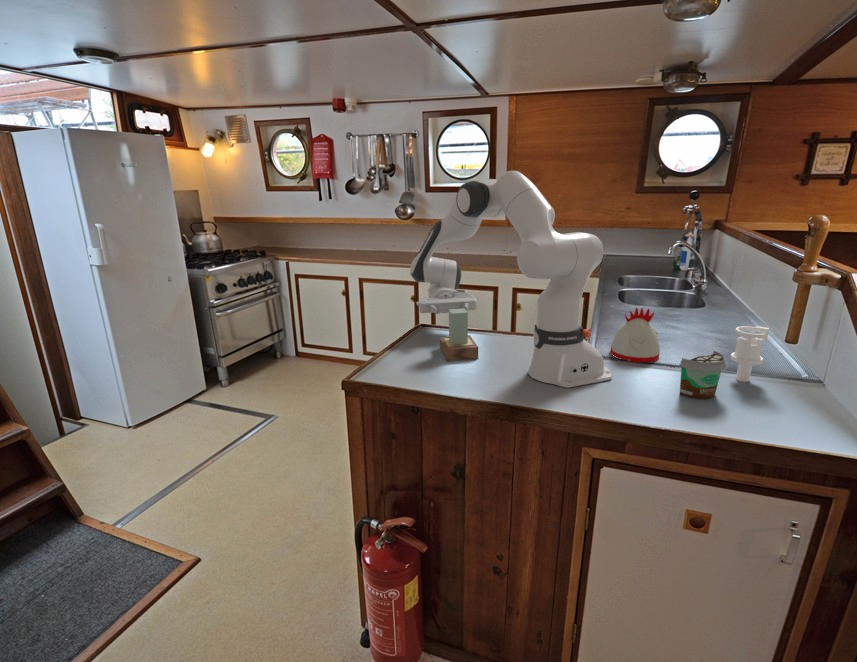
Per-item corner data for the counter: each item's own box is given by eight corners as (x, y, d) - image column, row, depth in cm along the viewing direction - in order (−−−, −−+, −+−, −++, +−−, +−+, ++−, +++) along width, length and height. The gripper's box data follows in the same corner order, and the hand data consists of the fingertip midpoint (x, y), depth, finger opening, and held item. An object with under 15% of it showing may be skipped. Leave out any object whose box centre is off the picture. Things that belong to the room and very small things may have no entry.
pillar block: (464, 338, 154) (464, 308, 151) (467, 343, 149) (467, 312, 146) (449, 339, 153) (448, 309, 150) (452, 344, 148) (451, 313, 145)
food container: (697, 405, 114) (703, 366, 111) (675, 395, 120) (680, 358, 117) (732, 395, 119) (739, 358, 116) (709, 386, 124) (715, 350, 121)
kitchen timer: (664, 364, 140) (670, 314, 135) (614, 361, 142) (619, 313, 138) (652, 348, 153) (658, 302, 148) (607, 346, 155) (611, 301, 151)
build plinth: (469, 346, 158) (469, 334, 157) (478, 359, 147) (478, 346, 146) (439, 348, 157) (439, 336, 156) (446, 361, 146) (446, 348, 145)
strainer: (757, 387, 123) (768, 331, 118) (725, 380, 127) (735, 327, 123) (759, 378, 128) (770, 324, 124) (729, 372, 132) (738, 320, 128)
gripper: (415, 293, 169) (420, 303, 156) (471, 290, 172) (481, 299, 159) (415, 310, 171) (420, 321, 158) (471, 307, 174) (480, 317, 161)
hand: (451, 310), depth 158 cm, fingers open, 8 cm apart
